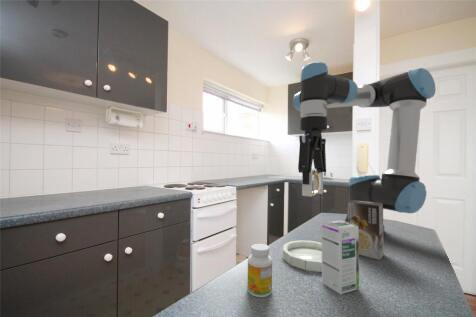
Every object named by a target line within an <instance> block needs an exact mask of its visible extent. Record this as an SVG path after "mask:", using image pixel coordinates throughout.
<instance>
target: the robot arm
mask: <svg viewBox="0 0 476 317" xmlns="http://www.w3.org/2000/svg"><path fill="white" fill-rule="evenodd" d="M435 94H436V83H435V80H434V77H433V76H432V74H431V72H430V71H429V70H428V69H426V68H424V67H421V68H415V69H413V70H412V69H411V70H408V71H406V72H403V73H400V74H397V75H393V76H390V77H386V78H383V79H380V80H377V81H374V82H372V83H368V84H367V83H365V84H362V85H360V86H358V84H357V83H356V82H355V81H353V80H352V79H349V78H347V77H341V76H337V75H332V74H330V73H329V70H328V65H327V64H326V63H324V62H321V61H314V62H309V63H307V64H305V65H304V66H303V67H302V68H301V72H300V91H299V92H297V93H295V94H294V96H293V98H292V105H293V108H294V109H295V110H296V111H297V112H300V114H299V115H300V116H299V117H301V118H300V125H299V126H300V128H299V129H300V130H301V132H304V134H300V135H299V137H298V139H299V148H298V149H299V150H298V165H297V169H298V170H297V171H298V173H301V174H302V176H301V196H302V197H303V196H304V197H310V198H312V197H313V195H312V192H314V191H315V190H316V189H317V179H316V178H315V176H314V175H312V174H313V173H311V168H312V169H314V170H315V169H316V171H319V172H320V174H321V179H322V185H321V189H320V191H319V192H318V193H317V194H319V195H323V193H324V173H327V159H326V158H327V157H326V156H327V155H326V142H327V140H326V138H323V137H322V135H323V134H322V132H323V131H324V132H325V131H327V129H328V118H327V115H328V109H333V108H344V107H356V106H357V107H359V108H361V109H362V108H363V109H364V108H386V107H387V108H389V110H391V111H392V118H391V119H392V120H391V129H390V137H389V138H390V139H389V145H388V146H389V147H388V159H387V165H386V166H387V167H386V170H385V171H384V172H383V173H382V174H381V176H380V175H379V174H372V175H369V174H368V175H355V176H351V177H350V178H349V180H348V202H350V201H352V200H358V201H367V202H375V203H383V210H387V211H392V212H397V213H401V214H402V213H405V214H415V213H417V212H419V211H420V209H422V207H423V206H424V205H425V201H426V199H427V190H426V188H427V187H426V185H425V184H424V183H423V182H421V181H420V176H418V174H417V173H416V163H417V154H418V152H417V151H418V144H419V143H418V141H419V131H420V121H421V120H420V119H421V118H420V117H421V110H422V109H424V108H425V107H427V101H428V100H430V99H432V98H433V97H434V96H435ZM313 166H314V168H313ZM316 174H317V173H316ZM317 175H318V174H317ZM344 221H345V222H348V212H347V213H346V216H345V218H344ZM384 233H385V224H384V223H383V234H384Z"/></svg>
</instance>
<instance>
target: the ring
mask: <svg viewBox="0 0 476 317" xmlns="http://www.w3.org/2000/svg"><path fill="white" fill-rule="evenodd" d="M311 173H313V174H312V176H313V175H314V176H315V178H316V179H317V189H316V190H315V191H314V192H313V191H312V197H313V196H314V197H315V195H317V194H319V193H318V192H319V191H320V189H321V185H322V179H321V174H320V172H319V171H316V169H315V168H313V167H312V168H311ZM316 173H317V174H318V175H317V174H316Z"/></svg>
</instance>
